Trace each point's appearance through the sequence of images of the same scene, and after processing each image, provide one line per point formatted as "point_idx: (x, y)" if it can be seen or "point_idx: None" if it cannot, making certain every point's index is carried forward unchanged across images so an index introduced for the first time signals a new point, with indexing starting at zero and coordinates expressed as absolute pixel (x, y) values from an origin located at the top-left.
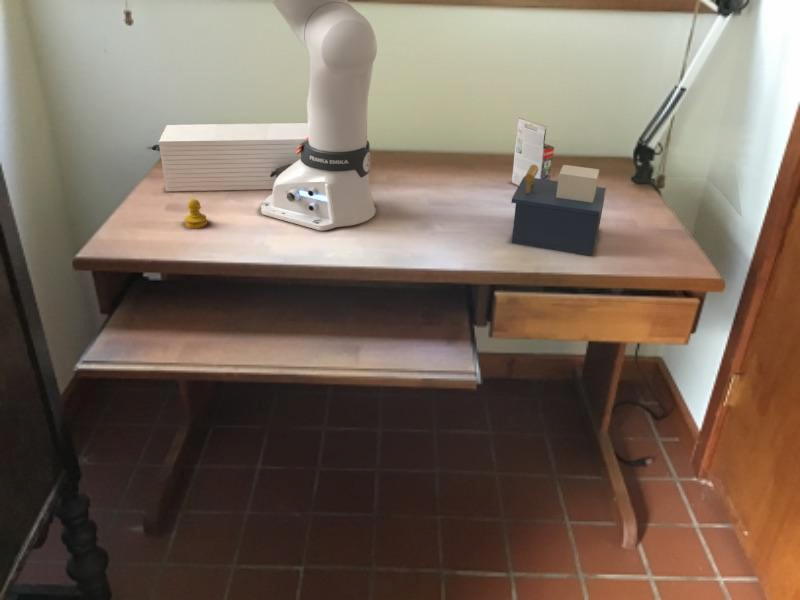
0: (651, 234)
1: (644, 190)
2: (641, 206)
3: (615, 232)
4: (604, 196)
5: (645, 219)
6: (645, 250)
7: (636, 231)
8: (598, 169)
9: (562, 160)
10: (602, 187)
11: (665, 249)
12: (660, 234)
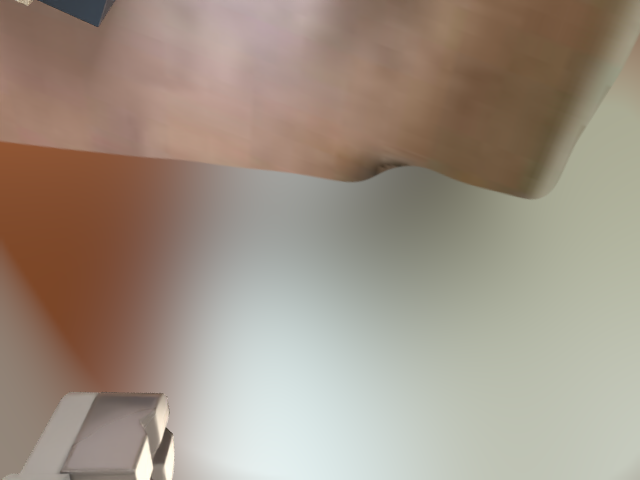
0: (113, 96)
1: (343, 168)
2: (259, 131)
3: (115, 23)
4: None
5: (190, 114)
6: (26, 53)
7: (125, 72)
8: (25, 2)
9: (567, 54)
10: (99, 18)
11: (40, 95)
12: (115, 114)
